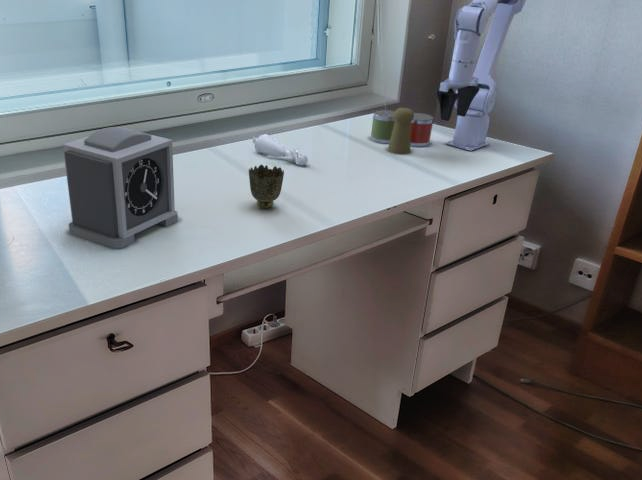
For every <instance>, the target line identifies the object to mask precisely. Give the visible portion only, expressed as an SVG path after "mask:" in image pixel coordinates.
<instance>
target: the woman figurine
mask: <svg viewBox="0 0 642 480" xmlns="http://www.w3.org/2000/svg"><path fill="white" fill-rule="evenodd" d="M252 143H253V144H254V149H255V152H257V153H258V154H261V155H266V156H265V158H267V159H278V160H284V161H285V160H286V161H289V162H295V164H296V165H298V166H305V165H307V164H308V162H309V159H308V156H307V155H305V154H302V153H300V152H299V147H297V146H296V147H295V148H292V150H290V149H288V148H287V147H286V146H285V145H284V144H283V143H281V142H280V141H278V140H277V139H275V138H274V137H273V136H271V135H270V134H267V133H264V134H259V135H258V137H257V138H256V135H255V136H253V137H252ZM299 153H300V154H299Z"/></svg>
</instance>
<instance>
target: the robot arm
mask: <svg viewBox="0 0 642 480" xmlns="http://www.w3.org/2000/svg"><path fill="white" fill-rule="evenodd" d="M526 1H527V0H472V1H470V3H469V4H468V5H464V6H462V7H460V8H459V9H458V11H457V13H456V16H455V18H454V36H453V39H454V40H455V41H454V45H453V52H452V57H451V64H450V69H449V74H448V78H446V79H445V80H444V81H441V82H440V85H439V88H437V89H436V93H435V94H436V96H437V98H438V104H439V113H440V120H442V121H446V122H449V121H450V119H451V117H452V113H453V110H454V108H455V109H456V115H457V118H456V123H455V129H454V133H453V139H452V140H448V141H447V142H446V143H445V144H446V145H448V146H451V147H456V148H458V149H462V150H466V151H473V150H477V149H480V148H483V147H485V146H486V147H487V146H488V145H489V143H488V142H486V140H487V135H488V132H489V127H490V116H489V114H490V113H491V112H492V110H493V109H494V106H495V103H496V97H497V93H498V84H497V83H496V81H495V80H494V79H493V78H492V76H493V74H494V71H495V68H496V65H497V62H498V59H499V56H500V54H501V51H502V48H503V46H504V42H505V41H506V37H507V34H508V32H509V30H510V26H511V24H512V21H513V19H514V17H515V15H517V14H519V13H521V12H522V10H523V8H524V7H525V5H526ZM492 15H493V17H492V20H491V23H490V26H489V29H488V32H487V34H486V37H485V40H484V43H483V46H482V49H481V51H480V54H479V57H478V60H477V56H478V51H479V46H480V42H481V37H482V35H483V34H484V33H485V30H486V28H487V25H488V24H489V21H490V17H491V16H492ZM476 61H477V62H476Z"/></svg>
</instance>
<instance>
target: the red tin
mask: <svg viewBox="0 0 642 480" xmlns="http://www.w3.org/2000/svg"><path fill="white" fill-rule="evenodd" d="M433 124H434V116H432V115H430V114H427V113H420V112H414V118H413V120H412V122H411V132H410V147H411V146H412V147H418V148H419V147H427V146H429V145H430V142H431V136H432V129H433Z"/></svg>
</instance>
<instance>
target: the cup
mask: <svg viewBox="0 0 642 480" xmlns="http://www.w3.org/2000/svg"><path fill="white" fill-rule="evenodd" d="M284 175H285V171H284V170H283V169H282V167H281V166H279V167H277V166H276V165H274V166H273V168H269V167H268V165H267V164H266V165H265V166H264V165H263V164H259V166H258V167H257V165H255V166H254V167H250V168H248V178H249V189H250V193H251V196H252V197H253V199H255V200H256V205H257V207H258V208H260V209H265V210H267V209H272V208H273V207H274V205H275V204H274V201H276V200H277V199H279V197H280V195H281V191H282V187H283V182H284Z"/></svg>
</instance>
